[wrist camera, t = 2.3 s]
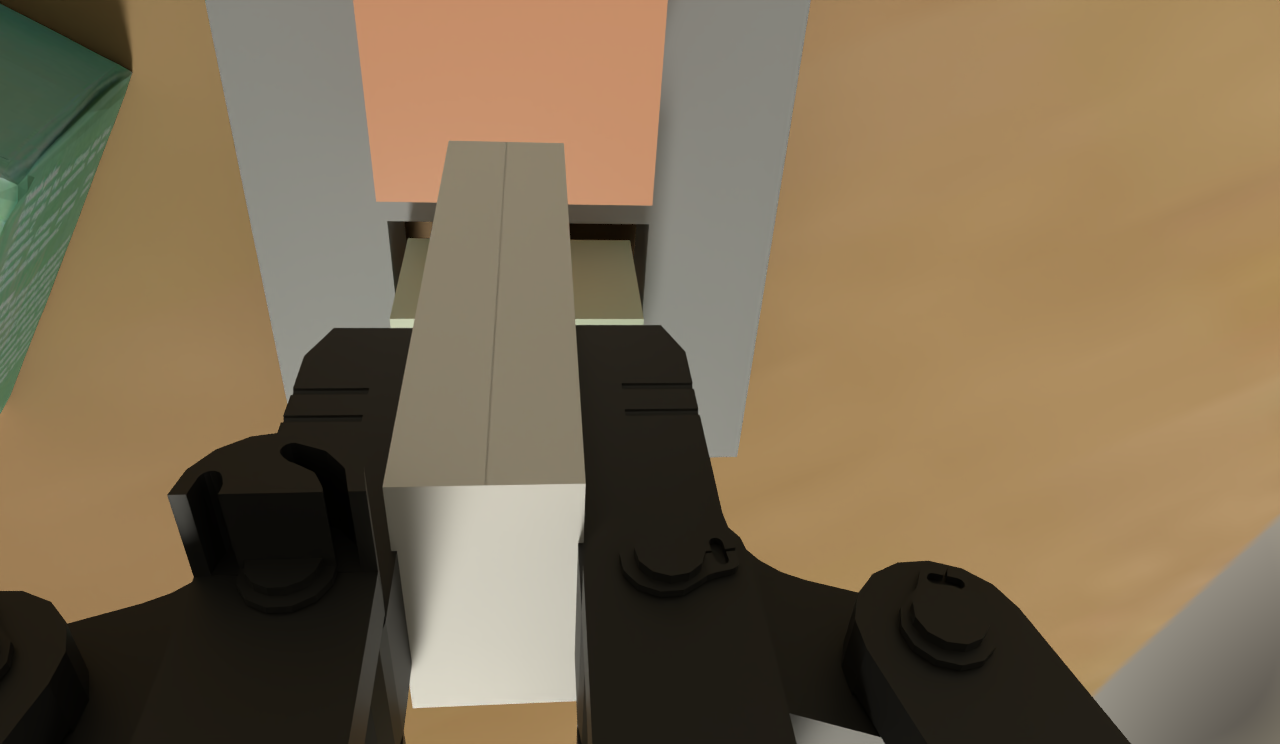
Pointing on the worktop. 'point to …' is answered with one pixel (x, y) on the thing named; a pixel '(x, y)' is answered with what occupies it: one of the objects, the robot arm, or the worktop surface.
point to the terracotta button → (514, 88)
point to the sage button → (596, 274)
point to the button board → (665, 232)
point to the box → (44, 165)
